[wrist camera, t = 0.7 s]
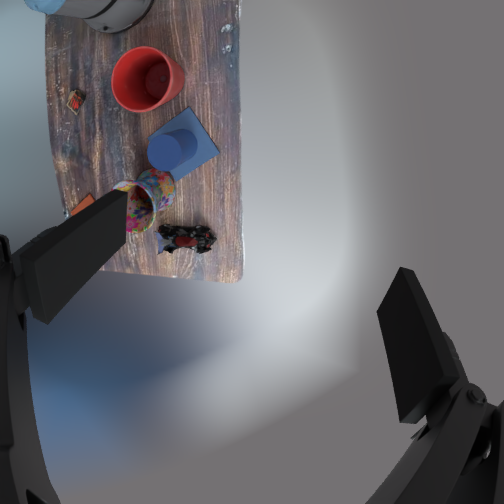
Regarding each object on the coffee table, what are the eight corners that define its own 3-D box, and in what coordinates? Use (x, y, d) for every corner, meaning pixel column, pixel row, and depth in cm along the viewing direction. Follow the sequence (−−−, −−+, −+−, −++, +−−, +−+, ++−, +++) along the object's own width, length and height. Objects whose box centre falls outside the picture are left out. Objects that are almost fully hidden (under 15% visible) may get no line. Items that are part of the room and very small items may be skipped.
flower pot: (180, 41, 45) (156, 32, 37) (202, 93, 49) (182, 93, 41) (131, 68, 48) (102, 67, 40) (151, 118, 53) (125, 124, 44)
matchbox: (87, 93, 51) (86, 93, 51) (80, 116, 54) (78, 116, 53) (72, 87, 51) (70, 87, 50) (65, 109, 53) (63, 109, 53)
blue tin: (185, 122, 52) (167, 126, 45) (204, 149, 54) (188, 158, 47) (160, 140, 54) (140, 148, 47) (178, 167, 56) (160, 178, 49)
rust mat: (90, 193, 62) (89, 194, 61) (110, 223, 64) (109, 223, 64) (71, 211, 64) (70, 212, 64) (90, 239, 67) (89, 240, 67)
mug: (180, 168, 56) (156, 184, 47) (177, 214, 61) (155, 237, 51) (124, 161, 57) (94, 176, 48) (124, 205, 62) (96, 226, 52)
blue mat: (189, 106, 51) (188, 106, 50) (220, 152, 54) (219, 153, 54) (148, 137, 54) (147, 138, 54) (176, 181, 58) (176, 181, 57)
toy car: (159, 221, 62) (150, 229, 58) (216, 223, 60) (210, 232, 57) (162, 248, 65) (154, 257, 61) (218, 251, 63) (213, 262, 60)
